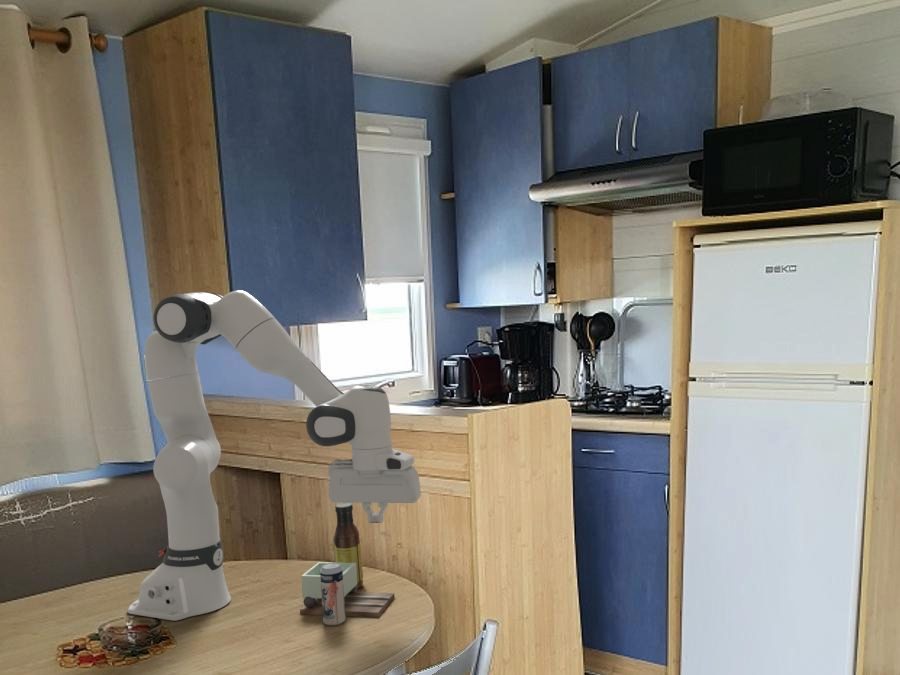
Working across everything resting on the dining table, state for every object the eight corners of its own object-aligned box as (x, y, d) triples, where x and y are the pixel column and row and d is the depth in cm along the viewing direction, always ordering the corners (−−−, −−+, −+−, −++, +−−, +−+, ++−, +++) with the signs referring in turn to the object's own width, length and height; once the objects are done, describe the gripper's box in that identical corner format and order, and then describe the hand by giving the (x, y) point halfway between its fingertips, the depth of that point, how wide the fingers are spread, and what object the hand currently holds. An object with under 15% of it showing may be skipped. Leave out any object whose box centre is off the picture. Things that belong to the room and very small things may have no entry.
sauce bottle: (350, 580, 180) (345, 499, 180) (369, 584, 176) (364, 502, 176) (330, 589, 175) (325, 505, 174) (349, 593, 171) (344, 508, 171)
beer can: (318, 623, 155) (314, 566, 155) (336, 615, 158) (333, 560, 158) (332, 628, 152) (328, 570, 151) (350, 621, 155) (347, 564, 155)
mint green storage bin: (302, 607, 161) (301, 576, 161) (320, 591, 170) (318, 561, 170) (342, 609, 159) (340, 577, 159) (358, 592, 168) (356, 562, 168)
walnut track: (300, 613, 161) (299, 607, 161) (320, 594, 171) (320, 588, 171) (378, 617, 156) (377, 610, 156) (394, 597, 167) (394, 591, 167)
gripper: (322, 462, 160) (325, 525, 161) (412, 461, 155) (416, 527, 156) (333, 456, 166) (337, 517, 167) (420, 456, 162) (424, 519, 162)
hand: (375, 522), depth 161 cm, fingers closed
